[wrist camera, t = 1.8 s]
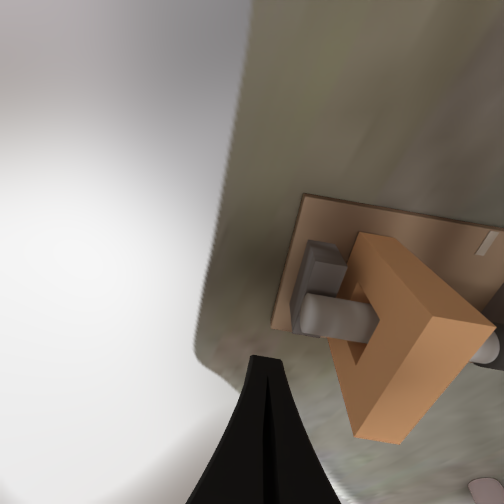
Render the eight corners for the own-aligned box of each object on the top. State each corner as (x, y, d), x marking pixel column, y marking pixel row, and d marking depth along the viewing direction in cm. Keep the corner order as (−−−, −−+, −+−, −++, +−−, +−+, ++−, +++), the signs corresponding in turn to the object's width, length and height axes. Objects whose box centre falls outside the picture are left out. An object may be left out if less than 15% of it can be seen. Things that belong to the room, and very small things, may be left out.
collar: (323, 323, 21) (354, 437, 13) (359, 231, 17) (432, 316, 9) (352, 328, 21) (399, 444, 13) (394, 237, 17) (496, 327, 9)
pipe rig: (270, 320, 23) (270, 391, 16) (303, 192, 17) (321, 228, 11) (470, 354, 23) (544, 438, 17) (565, 239, 17) (727, 299, 11)
